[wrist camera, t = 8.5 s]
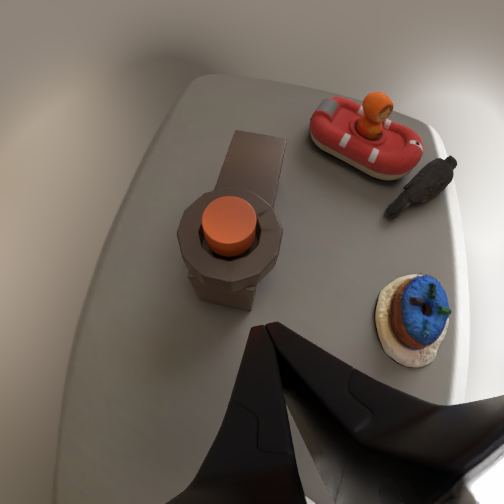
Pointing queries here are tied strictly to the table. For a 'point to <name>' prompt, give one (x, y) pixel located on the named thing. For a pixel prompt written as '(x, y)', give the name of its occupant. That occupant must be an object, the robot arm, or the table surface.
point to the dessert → (412, 319)
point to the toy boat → (366, 136)
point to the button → (229, 226)
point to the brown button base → (267, 226)
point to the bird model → (425, 184)
